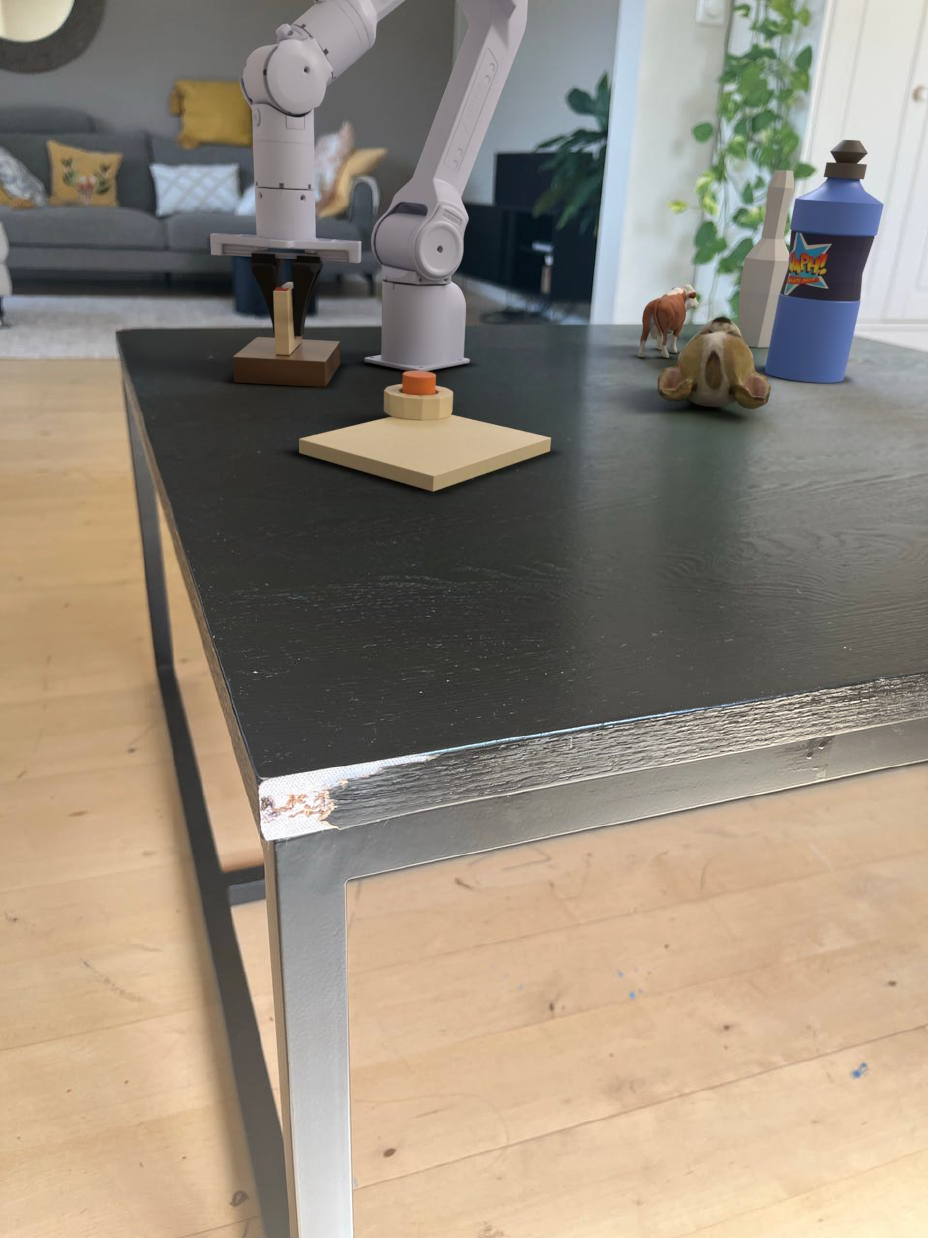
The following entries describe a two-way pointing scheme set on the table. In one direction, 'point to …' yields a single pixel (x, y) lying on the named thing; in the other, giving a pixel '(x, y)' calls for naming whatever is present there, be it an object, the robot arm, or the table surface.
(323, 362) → the stand
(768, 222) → the low poly bottle
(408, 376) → the button
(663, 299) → the bull figurine
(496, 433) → the beige button base
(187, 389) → the table surface
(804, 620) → the table surface
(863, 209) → the water bottle
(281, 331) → the light wood flat panel
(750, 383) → the ceramic sculpture
